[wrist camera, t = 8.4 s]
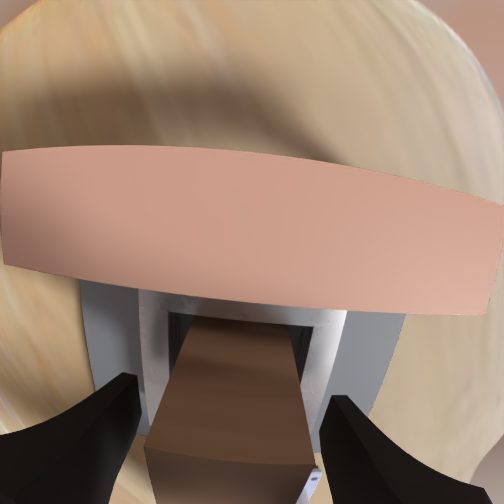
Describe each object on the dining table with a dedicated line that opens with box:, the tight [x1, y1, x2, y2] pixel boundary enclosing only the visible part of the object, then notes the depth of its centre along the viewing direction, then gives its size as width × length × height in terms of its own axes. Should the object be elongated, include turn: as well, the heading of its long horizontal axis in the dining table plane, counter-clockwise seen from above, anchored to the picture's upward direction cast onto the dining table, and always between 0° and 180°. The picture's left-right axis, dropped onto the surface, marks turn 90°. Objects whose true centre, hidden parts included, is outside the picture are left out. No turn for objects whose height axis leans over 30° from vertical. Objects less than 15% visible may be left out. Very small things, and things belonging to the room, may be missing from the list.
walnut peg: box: [144, 315, 315, 504], centre depth 10 cm, size 4×4×8 cm
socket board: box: [0, 145, 504, 453], centre depth 11 cm, size 16×16×8 cm
